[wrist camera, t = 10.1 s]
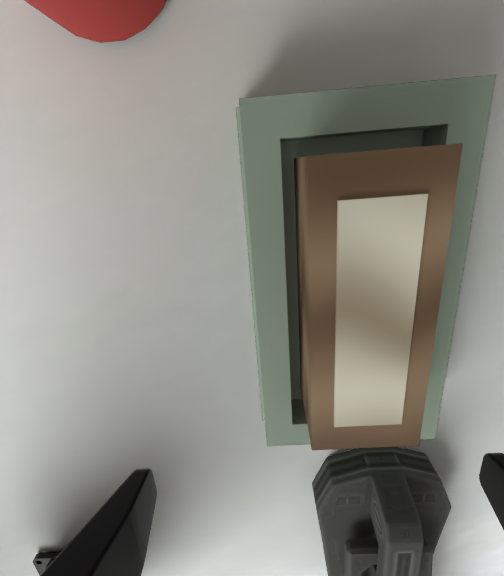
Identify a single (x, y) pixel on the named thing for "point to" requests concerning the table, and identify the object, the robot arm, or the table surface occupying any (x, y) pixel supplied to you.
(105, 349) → the table surface
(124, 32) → the beer can
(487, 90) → the cradle
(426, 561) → the zipper pull
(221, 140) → the table surface
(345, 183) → the brown two-tone block
